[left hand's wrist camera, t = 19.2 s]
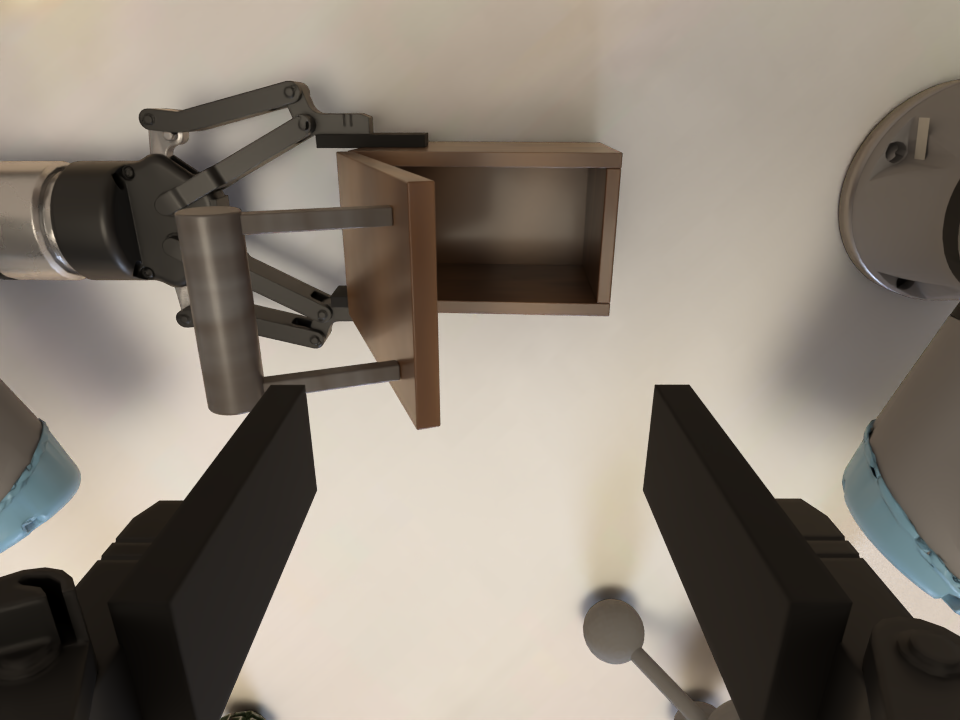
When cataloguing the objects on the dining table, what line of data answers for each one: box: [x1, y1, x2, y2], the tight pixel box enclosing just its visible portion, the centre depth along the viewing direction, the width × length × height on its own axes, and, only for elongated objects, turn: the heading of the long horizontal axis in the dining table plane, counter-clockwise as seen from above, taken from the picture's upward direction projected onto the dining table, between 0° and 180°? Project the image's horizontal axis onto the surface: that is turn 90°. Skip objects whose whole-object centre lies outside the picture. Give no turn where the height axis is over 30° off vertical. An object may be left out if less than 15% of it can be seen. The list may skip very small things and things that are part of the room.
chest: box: [348, 141, 622, 316], centre depth 41 cm, size 15×9×10 cm, turn 90°
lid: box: [174, 151, 440, 430], centre depth 28 cm, size 16×9×8 cm
